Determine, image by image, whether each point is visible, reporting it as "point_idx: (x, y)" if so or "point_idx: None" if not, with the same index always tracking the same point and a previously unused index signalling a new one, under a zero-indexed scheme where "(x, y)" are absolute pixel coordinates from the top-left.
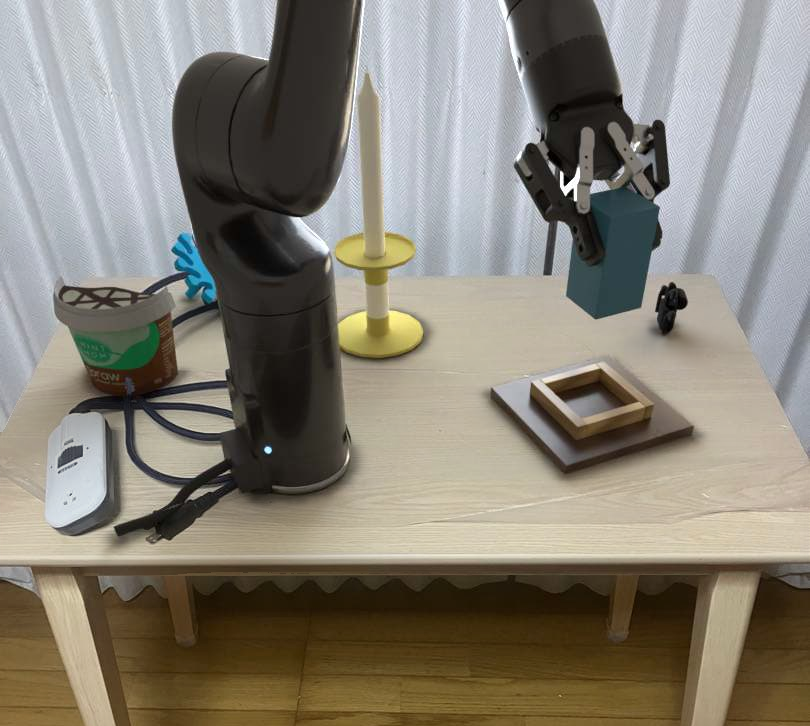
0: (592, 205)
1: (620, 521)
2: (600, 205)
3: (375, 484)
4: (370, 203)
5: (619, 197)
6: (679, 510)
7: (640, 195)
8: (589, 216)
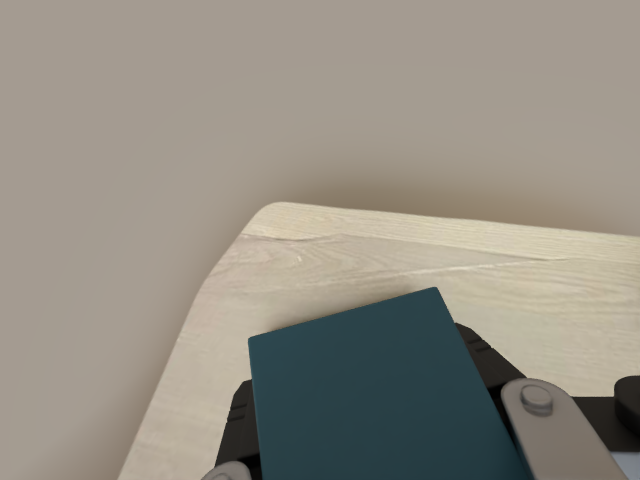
0: (493, 406)
1: (378, 240)
2: (458, 399)
3: (623, 320)
4: None
5: (359, 471)
6: (327, 245)
7: (265, 468)
8: (492, 379)
